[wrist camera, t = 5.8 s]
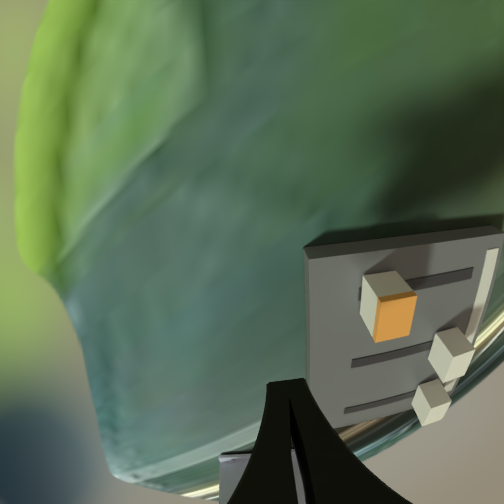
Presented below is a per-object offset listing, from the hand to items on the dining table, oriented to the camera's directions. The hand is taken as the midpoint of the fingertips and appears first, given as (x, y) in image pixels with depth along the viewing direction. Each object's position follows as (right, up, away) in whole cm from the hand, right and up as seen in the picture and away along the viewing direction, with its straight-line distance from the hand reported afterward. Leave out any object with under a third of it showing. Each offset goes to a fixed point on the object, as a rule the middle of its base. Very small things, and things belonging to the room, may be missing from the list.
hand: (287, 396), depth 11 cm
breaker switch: (+6, +3, +6) cm, 9 cm away
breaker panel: (+9, -1, +9) cm, 13 cm away
